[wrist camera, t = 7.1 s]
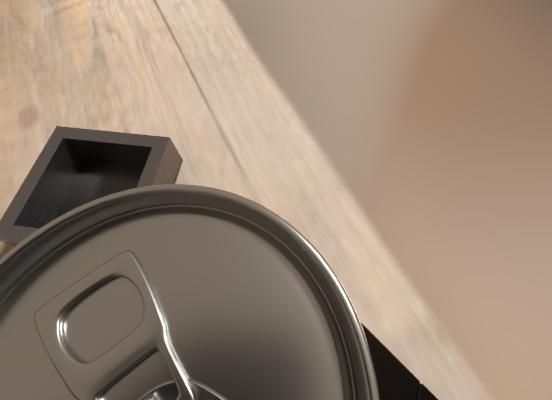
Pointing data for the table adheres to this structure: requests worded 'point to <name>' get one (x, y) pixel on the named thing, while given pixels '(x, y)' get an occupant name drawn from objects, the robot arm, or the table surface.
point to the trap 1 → (86, 175)
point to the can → (176, 306)
